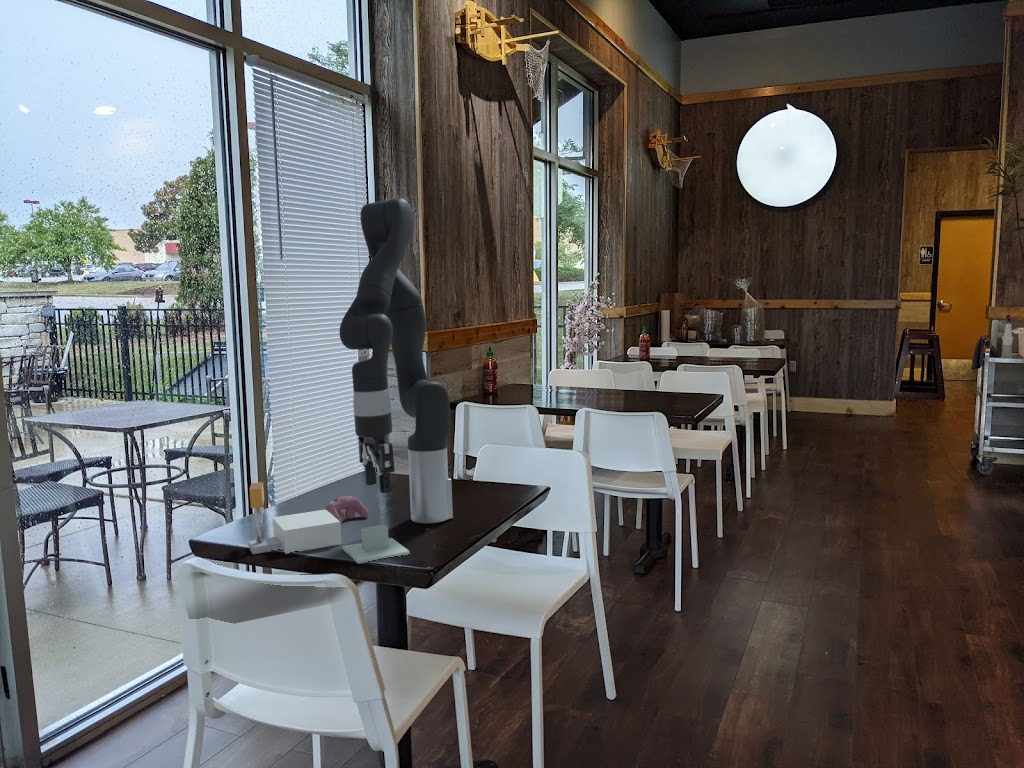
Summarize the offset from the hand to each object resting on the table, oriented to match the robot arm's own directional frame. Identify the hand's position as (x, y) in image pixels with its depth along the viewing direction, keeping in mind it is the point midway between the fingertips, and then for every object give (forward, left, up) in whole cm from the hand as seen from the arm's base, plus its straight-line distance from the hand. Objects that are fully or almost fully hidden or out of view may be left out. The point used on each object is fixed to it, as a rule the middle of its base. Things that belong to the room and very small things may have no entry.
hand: (378, 488), depth 168 cm
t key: (+21, -17, -12) cm, 30 cm away
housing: (+15, -16, -14) cm, 25 cm away
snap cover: (+1, 0, -14) cm, 14 cm away
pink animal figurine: (-1, -27, -14) cm, 31 cm away
